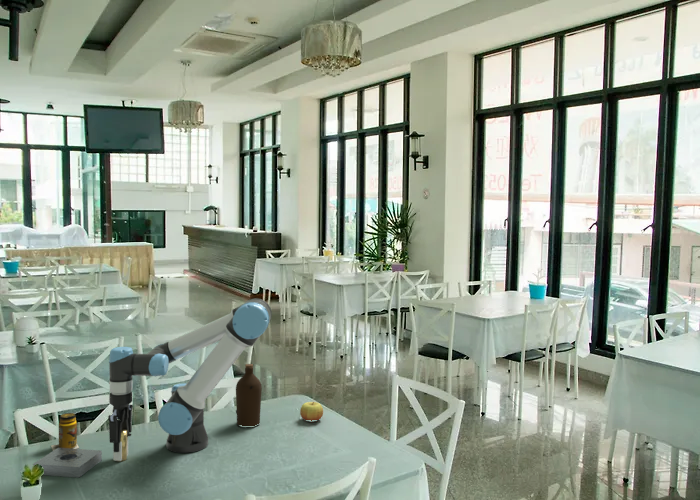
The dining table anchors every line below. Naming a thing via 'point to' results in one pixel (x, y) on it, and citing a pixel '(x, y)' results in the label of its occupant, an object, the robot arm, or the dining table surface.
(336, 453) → the dining table surface
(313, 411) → the apple
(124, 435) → the yellow cylinder
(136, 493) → the dining table surface
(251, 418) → the olive oil
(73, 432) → the condiment
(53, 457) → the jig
